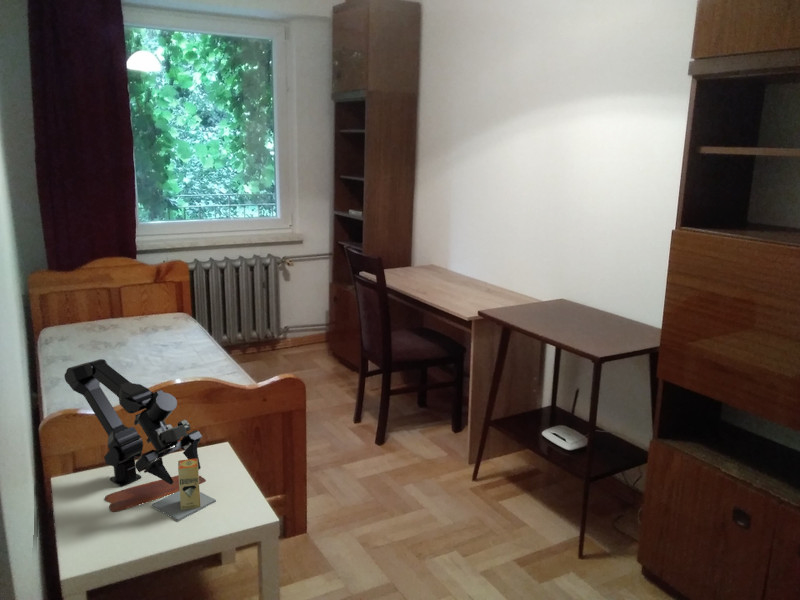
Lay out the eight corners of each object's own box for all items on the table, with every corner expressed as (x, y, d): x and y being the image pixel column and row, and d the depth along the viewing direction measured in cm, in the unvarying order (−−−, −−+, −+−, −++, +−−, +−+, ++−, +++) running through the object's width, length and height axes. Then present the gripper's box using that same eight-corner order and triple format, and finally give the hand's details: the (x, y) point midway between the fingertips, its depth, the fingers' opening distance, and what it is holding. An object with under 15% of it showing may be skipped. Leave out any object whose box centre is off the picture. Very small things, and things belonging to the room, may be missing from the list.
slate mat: (151, 506, 171) (151, 504, 171) (188, 488, 180) (188, 486, 180) (178, 521, 164) (178, 519, 164) (215, 501, 174) (215, 499, 173)
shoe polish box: (181, 500, 173) (178, 460, 170) (200, 497, 174) (197, 458, 172) (181, 510, 168) (178, 469, 165) (200, 507, 170) (197, 466, 167)
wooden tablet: (112, 516, 167) (112, 510, 167) (102, 500, 175) (102, 494, 174) (209, 485, 184) (209, 479, 183) (196, 471, 191) (196, 466, 191)
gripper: (139, 426, 161) (171, 477, 158) (196, 403, 177) (226, 448, 174) (121, 447, 166) (152, 496, 164) (178, 422, 182) (207, 467, 179)
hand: (186, 476), depth 170 cm, fingers open, 9 cm apart
